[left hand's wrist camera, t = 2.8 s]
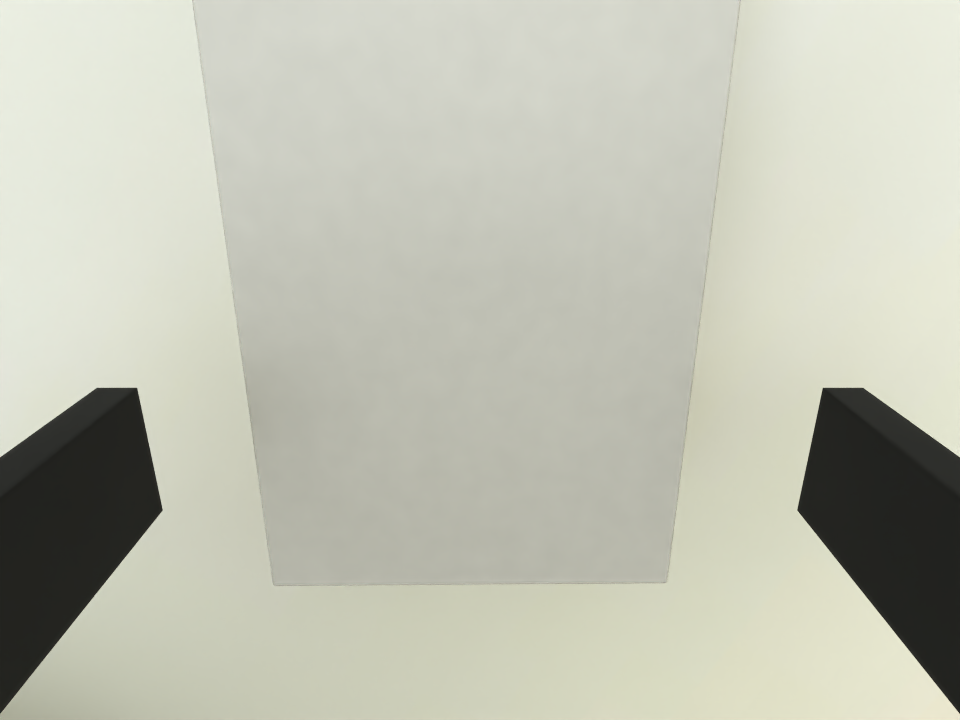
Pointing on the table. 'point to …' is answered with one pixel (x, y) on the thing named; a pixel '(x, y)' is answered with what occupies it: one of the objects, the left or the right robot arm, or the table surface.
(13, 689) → the left robot arm
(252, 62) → the light grey rectangular bar
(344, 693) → the table surface
